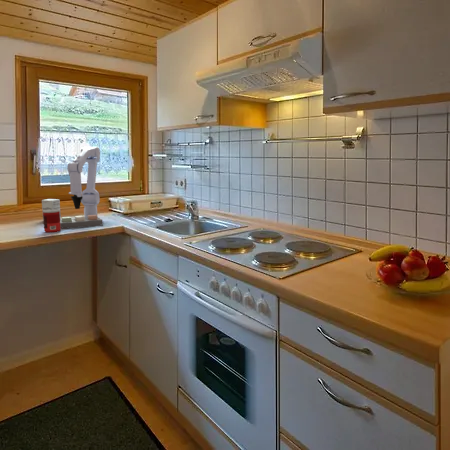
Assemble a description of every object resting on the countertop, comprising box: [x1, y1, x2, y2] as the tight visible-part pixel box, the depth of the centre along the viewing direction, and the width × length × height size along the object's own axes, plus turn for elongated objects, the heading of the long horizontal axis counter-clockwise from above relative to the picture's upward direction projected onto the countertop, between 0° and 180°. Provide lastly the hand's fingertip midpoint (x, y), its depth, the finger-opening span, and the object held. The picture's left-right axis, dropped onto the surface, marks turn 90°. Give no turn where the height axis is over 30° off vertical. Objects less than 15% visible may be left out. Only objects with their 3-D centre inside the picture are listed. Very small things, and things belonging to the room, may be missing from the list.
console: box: [60, 217, 104, 230], centre depth 222 cm, size 12×22×3 cm, turn 122°
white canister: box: [41, 198, 62, 222], centre depth 237 cm, size 7×7×13 cm
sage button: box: [61, 216, 73, 222], centre depth 218 cm, size 4×4×3 cm
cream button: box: [74, 215, 85, 221], centre depth 222 cm, size 4×4×3 cm
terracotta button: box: [88, 214, 98, 220], centre depth 226 cm, size 4×4×3 cm
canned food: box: [42, 209, 61, 234], centre depth 204 cm, size 8×8×11 cm
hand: (77, 208), depth 220 cm, fingers closed
